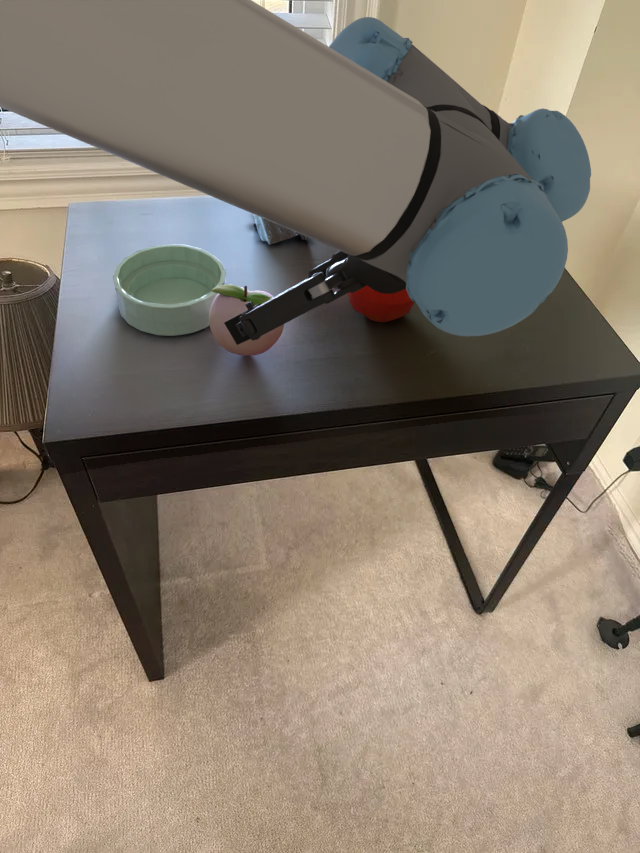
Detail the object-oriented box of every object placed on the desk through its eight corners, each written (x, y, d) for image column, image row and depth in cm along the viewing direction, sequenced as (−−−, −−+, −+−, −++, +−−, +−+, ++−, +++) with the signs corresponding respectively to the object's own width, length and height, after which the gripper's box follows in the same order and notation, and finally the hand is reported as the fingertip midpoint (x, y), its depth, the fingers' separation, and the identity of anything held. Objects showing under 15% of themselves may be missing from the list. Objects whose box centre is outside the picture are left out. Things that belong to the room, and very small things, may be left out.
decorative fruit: (200, 367, 79) (193, 301, 72) (221, 327, 85) (217, 261, 77) (273, 382, 78) (274, 316, 71) (290, 340, 84) (292, 275, 76)
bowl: (127, 347, 81) (121, 315, 77) (113, 282, 90) (107, 251, 86) (237, 329, 84) (236, 298, 81) (214, 269, 93) (212, 239, 90)
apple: (377, 281, 94) (388, 208, 86) (430, 314, 89) (447, 241, 81) (328, 308, 89) (335, 233, 80) (381, 344, 84) (395, 269, 76)
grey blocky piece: (246, 211, 106) (241, 189, 94) (286, 196, 106) (286, 172, 94) (267, 266, 107) (265, 251, 95) (307, 251, 107) (310, 234, 95)
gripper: (334, 344, 49) (211, 389, 66) (500, 227, 62) (362, 289, 79) (285, 255, 47) (172, 324, 64) (467, 154, 60) (333, 234, 78)
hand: (277, 305), depth 72 cm, fingers open, 13 cm apart
